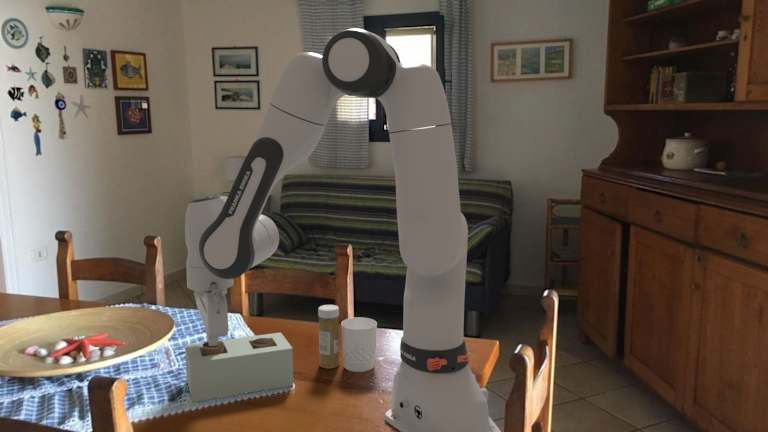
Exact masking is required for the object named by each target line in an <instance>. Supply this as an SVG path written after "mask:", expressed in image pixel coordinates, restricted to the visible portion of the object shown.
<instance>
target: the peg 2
mask: <svg viewBox="0 0 768 432" xmlns="http://www.w3.org/2000/svg"><path fill="white" fill-rule="evenodd" d="M272 346H273V340H272V339H270V338H258V339H255V340H254V341H253V349H258V348H265V347H272Z"/></svg>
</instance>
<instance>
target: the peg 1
mask: <svg viewBox="0 0 768 432" xmlns="http://www.w3.org/2000/svg"><path fill="white" fill-rule="evenodd" d="M203 343H204V344H203V356H209V355H216V354H223V353H224V342H222V341H220V340H218V345H217V346H209V344H208V342H207V341H205V342H203Z"/></svg>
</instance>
